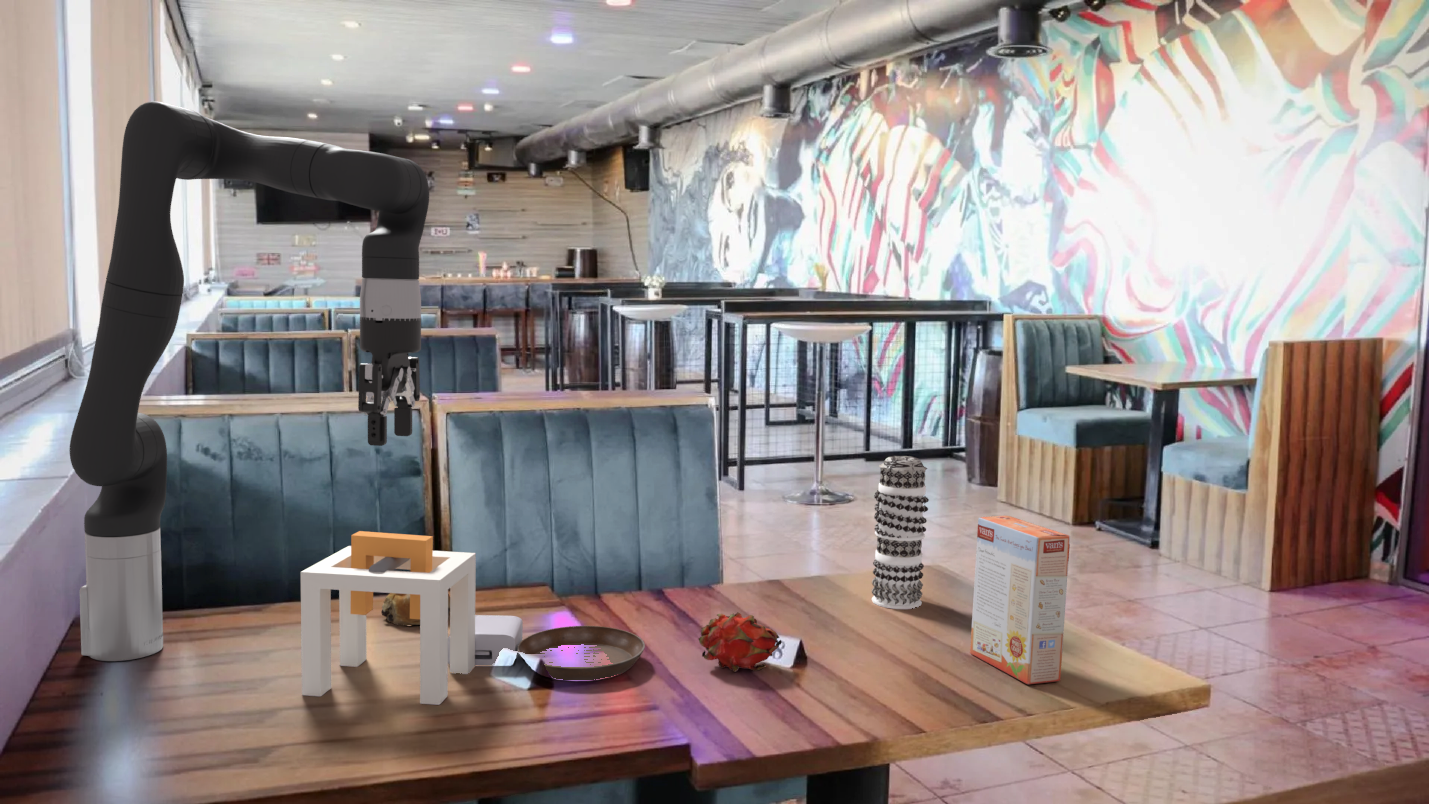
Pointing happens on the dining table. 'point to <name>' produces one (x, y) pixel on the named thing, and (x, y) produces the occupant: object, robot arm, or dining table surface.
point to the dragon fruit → (738, 642)
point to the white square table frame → (380, 577)
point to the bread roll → (400, 609)
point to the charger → (494, 637)
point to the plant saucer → (612, 641)
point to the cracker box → (1020, 598)
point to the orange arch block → (388, 546)
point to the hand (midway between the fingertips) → (390, 440)
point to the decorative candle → (899, 533)
